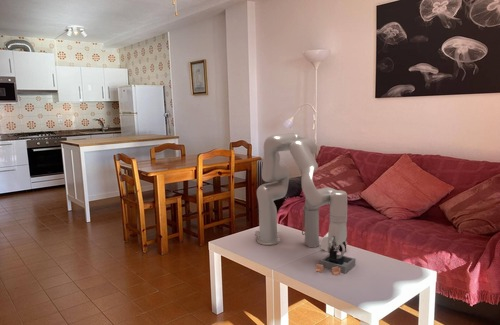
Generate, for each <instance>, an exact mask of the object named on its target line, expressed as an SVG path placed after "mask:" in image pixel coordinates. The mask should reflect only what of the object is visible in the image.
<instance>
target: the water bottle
mask: <svg viewBox="0 0 500 325" xmlns="http://www.w3.org/2000/svg"><path fill="white" fill-rule="evenodd" d="M304 200H305V201H304V206H303V207H302V209H303V216H302V217H303V218H302V225H301V226H302V227H301V234H302V236H304V244H305V246H307V247H309V248H316V247H319V244H320V242H319V241H320V240H319V239H320V238H319V237H320V236H319V235H320V227H319V226H320V209H319V208H320V207H314V206H312V205H311V204H310V203H309V202H308V200H307V198H306V197H305V199H304ZM303 230H304V231H303Z"/></svg>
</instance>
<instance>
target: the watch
mask: <svg viewBox="0 0 500 325" xmlns="http://www.w3.org/2000/svg"><path fill="white" fill-rule="evenodd" d="M334 244H336V243H334ZM340 245H341V247H342V252H340V254H338V255H340V256H338V255H337V259H336V260H335V259H331V258H329V262H331V263H335V264H339V265H342V264H344V257H342V256H345V253H346V252H345V246H344V244H343V243H341V244H340ZM332 246H333V247H334V245H332ZM327 249H328V252H327V253H328V255H329V254H330V250H329V245H328V247H327Z"/></svg>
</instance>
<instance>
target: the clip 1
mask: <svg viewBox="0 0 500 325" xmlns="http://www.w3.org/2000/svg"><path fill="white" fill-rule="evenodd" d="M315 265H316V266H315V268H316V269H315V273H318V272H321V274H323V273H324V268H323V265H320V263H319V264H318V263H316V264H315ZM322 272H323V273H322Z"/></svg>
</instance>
